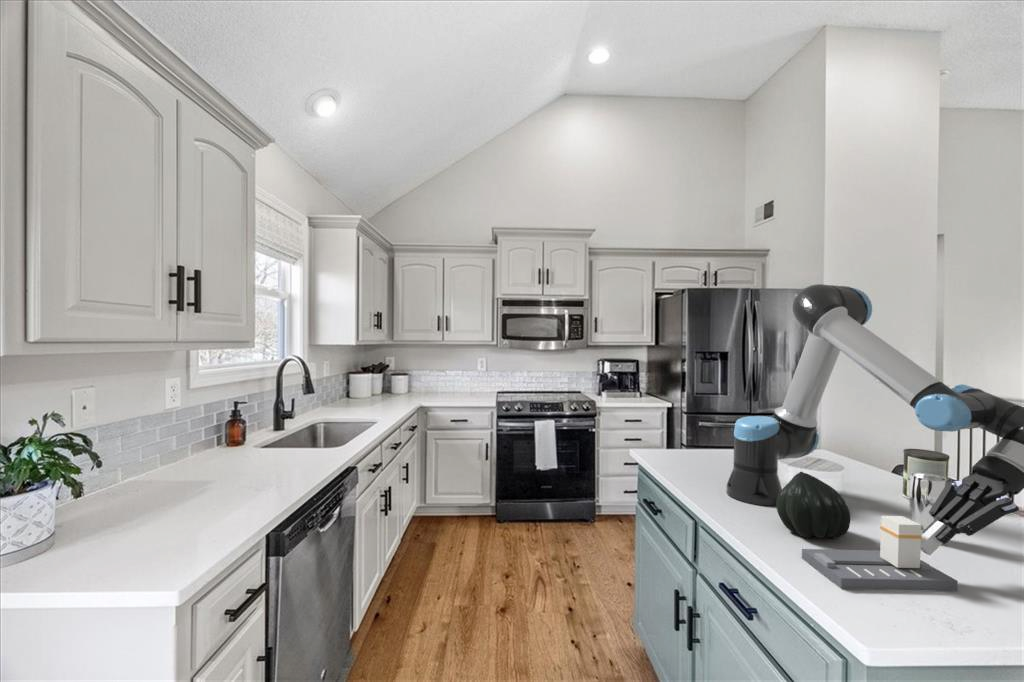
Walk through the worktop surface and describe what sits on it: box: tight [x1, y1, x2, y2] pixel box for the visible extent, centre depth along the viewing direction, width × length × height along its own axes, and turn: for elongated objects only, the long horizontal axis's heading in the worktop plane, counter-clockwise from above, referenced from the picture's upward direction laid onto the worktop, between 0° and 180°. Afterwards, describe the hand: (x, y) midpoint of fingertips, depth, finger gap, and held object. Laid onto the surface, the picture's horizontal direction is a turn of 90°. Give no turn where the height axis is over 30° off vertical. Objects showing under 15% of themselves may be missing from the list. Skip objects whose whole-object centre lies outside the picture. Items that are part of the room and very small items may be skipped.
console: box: [801, 548, 959, 592], centre depth 94 cm, size 22×12×3 cm, turn 90°
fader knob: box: [879, 515, 922, 568], centre depth 93 cm, size 5×5×9 cm
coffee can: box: [901, 448, 951, 500], centre depth 138 cm, size 10×10×14 cm
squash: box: [775, 471, 852, 539], centre depth 113 cm, size 14×15×15 cm
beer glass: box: [908, 473, 947, 536], centre depth 111 cm, size 7×7×15 cm
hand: (921, 548), depth 93 cm, fingers closed
